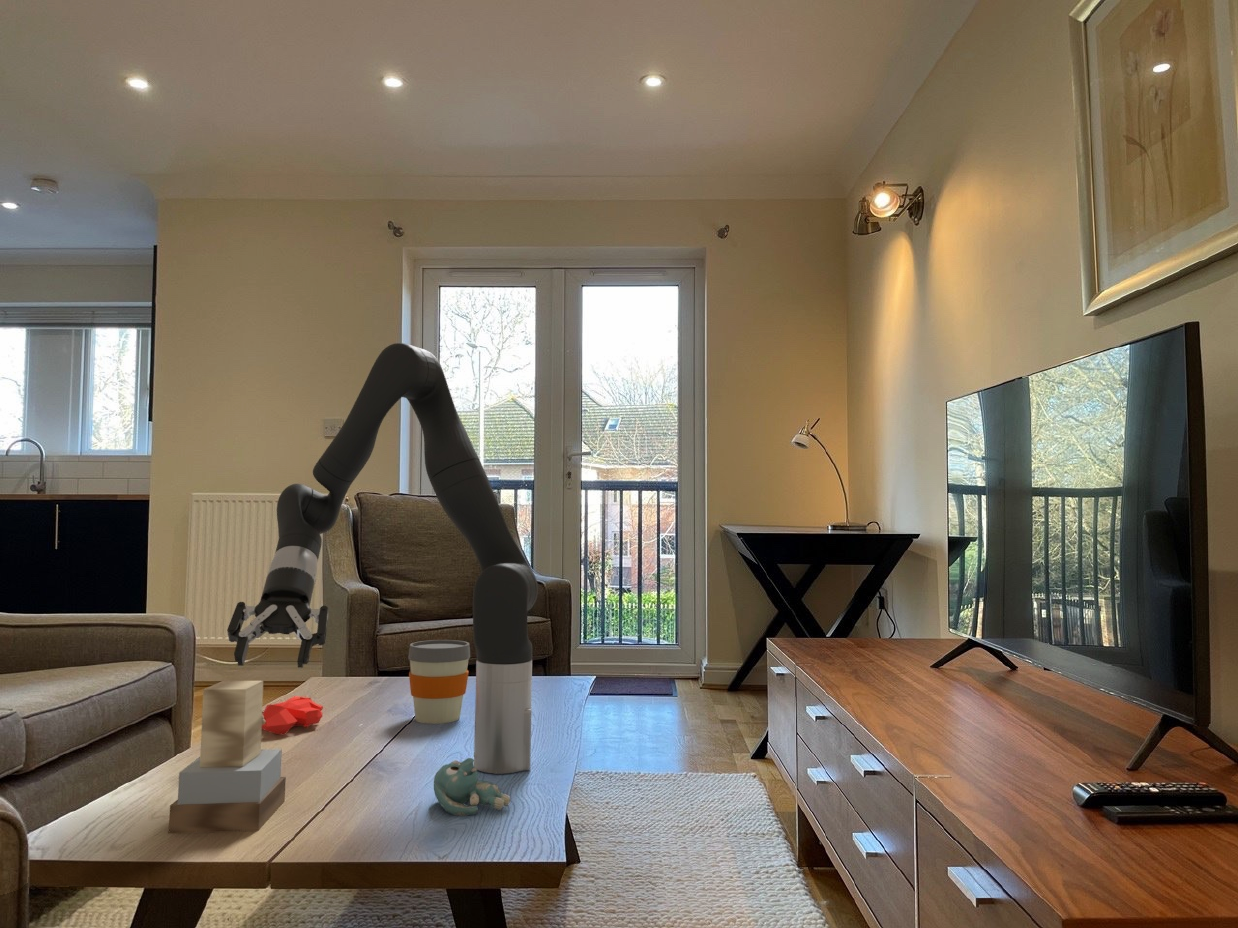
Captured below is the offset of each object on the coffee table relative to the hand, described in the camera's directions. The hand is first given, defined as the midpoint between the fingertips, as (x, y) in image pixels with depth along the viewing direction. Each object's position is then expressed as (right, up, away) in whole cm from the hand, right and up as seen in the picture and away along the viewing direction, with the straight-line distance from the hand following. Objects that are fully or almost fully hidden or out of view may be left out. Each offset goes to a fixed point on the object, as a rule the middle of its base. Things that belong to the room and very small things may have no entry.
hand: (270, 663), depth 121 cm
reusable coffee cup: (+16, -22, +42) cm, 50 cm away
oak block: (0, -10, -13) cm, 16 cm away
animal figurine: (-10, -21, +33) cm, 40 cm away
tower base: (0, -18, -14) cm, 22 cm away
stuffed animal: (+32, -18, -8) cm, 38 cm away
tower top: (+1, -14, -13) cm, 19 cm away
